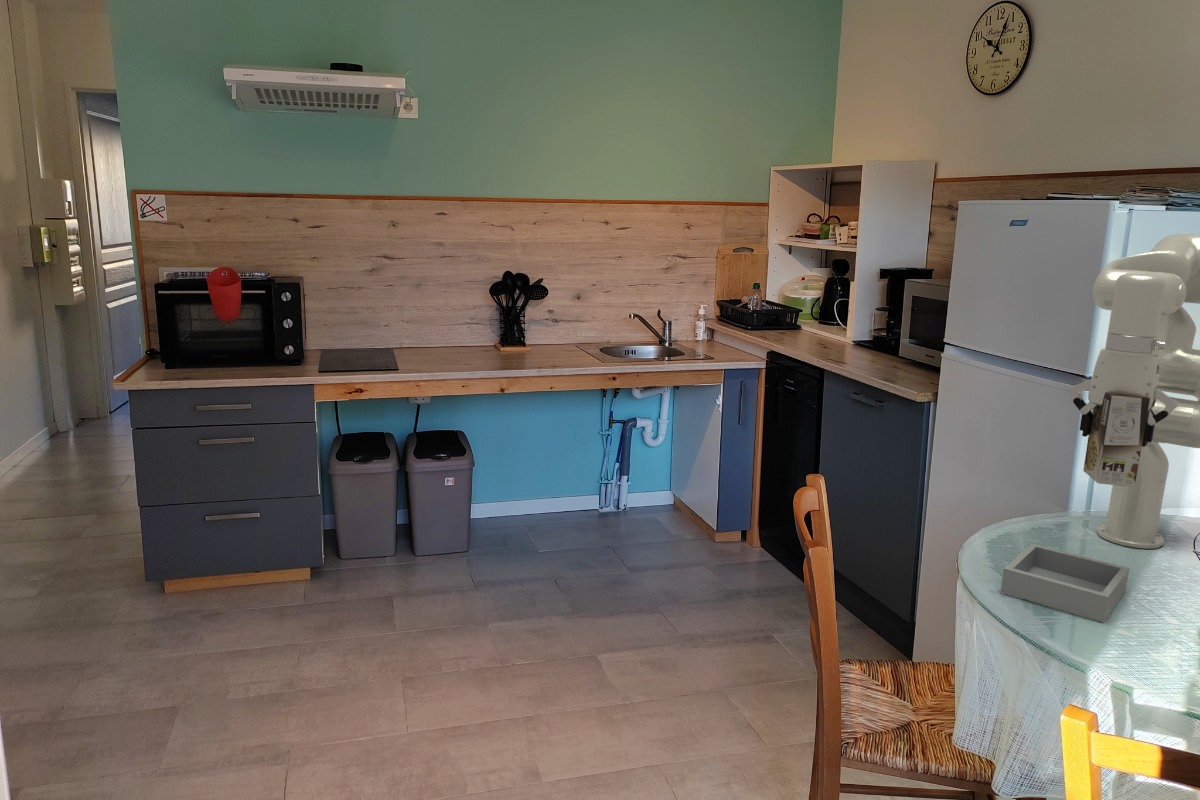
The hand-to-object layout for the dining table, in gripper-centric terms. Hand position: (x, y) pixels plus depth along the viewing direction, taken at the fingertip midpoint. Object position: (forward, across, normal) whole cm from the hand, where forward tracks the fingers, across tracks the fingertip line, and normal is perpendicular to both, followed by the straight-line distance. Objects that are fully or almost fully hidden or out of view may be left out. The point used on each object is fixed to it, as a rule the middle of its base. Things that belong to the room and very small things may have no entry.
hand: (1114, 440), depth 162 cm
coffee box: (+7, 0, 0) cm, 7 cm away
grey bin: (+29, +3, +5) cm, 29 cm away
